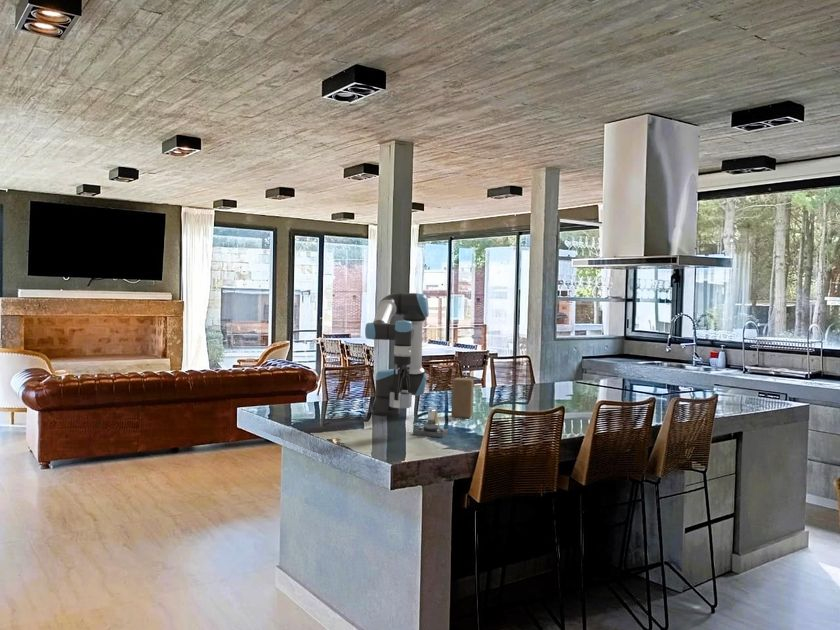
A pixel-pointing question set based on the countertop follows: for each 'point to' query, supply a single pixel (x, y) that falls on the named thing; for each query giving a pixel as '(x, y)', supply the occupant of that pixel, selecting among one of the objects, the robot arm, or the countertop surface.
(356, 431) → the countertop surface
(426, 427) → the shaft stand
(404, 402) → the hub
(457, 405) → the wooden block
